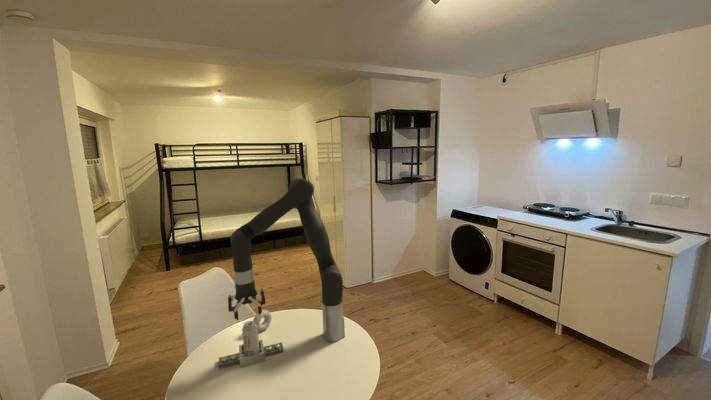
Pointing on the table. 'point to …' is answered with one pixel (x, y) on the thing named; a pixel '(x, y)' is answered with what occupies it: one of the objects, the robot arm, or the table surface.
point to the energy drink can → (250, 338)
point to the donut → (266, 322)
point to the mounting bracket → (250, 359)
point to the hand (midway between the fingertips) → (248, 316)
